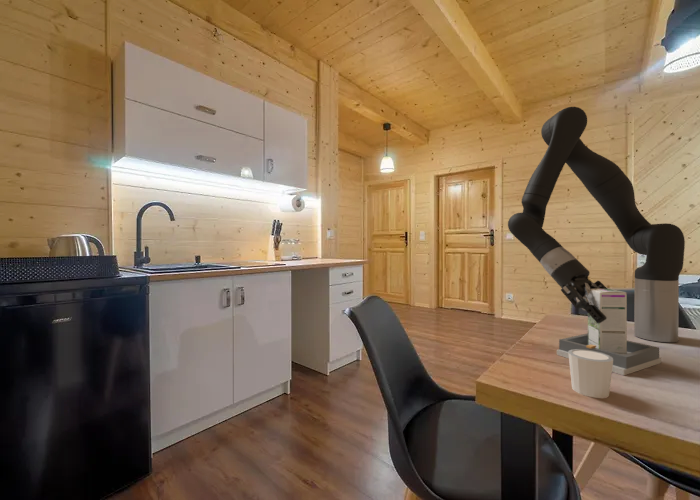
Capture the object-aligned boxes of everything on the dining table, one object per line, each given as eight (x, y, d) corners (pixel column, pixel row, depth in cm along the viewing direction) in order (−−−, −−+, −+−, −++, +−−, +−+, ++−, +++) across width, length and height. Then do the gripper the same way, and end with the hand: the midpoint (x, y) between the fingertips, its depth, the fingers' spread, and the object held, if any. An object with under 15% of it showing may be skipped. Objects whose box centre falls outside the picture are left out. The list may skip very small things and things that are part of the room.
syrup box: (628, 354, 73) (628, 292, 73) (599, 352, 74) (599, 291, 74) (612, 346, 79) (613, 288, 78) (586, 345, 80) (586, 287, 79)
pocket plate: (593, 345, 86) (593, 330, 86) (661, 362, 73) (661, 345, 73) (556, 354, 79) (556, 338, 79) (623, 375, 67) (623, 356, 67)
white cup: (559, 383, 63) (559, 348, 63) (594, 383, 63) (594, 348, 63) (584, 399, 57) (584, 361, 56) (623, 400, 56) (623, 361, 56)
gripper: (556, 259, 80) (609, 313, 70) (590, 257, 86) (642, 307, 75) (536, 277, 85) (582, 331, 74) (569, 275, 91) (616, 324, 80)
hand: (612, 319), depth 75 cm, fingers closed on syrup box, 8 cm apart
